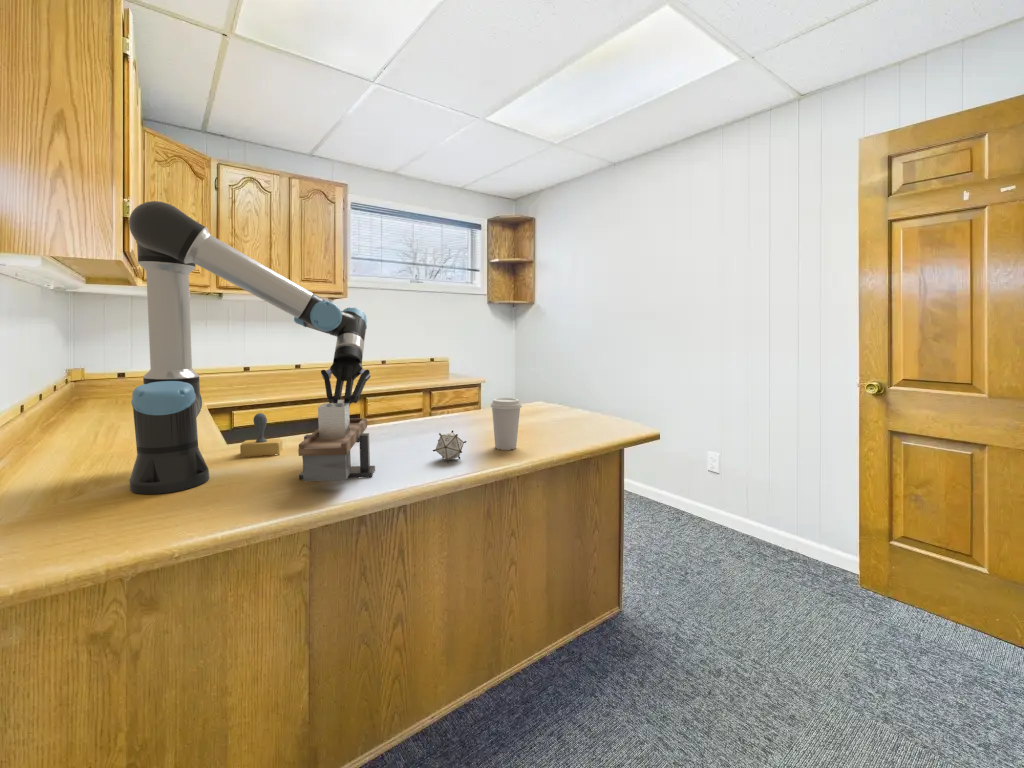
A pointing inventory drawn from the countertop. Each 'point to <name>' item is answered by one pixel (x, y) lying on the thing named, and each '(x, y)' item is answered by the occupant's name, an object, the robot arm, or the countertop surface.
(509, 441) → the coffee cup
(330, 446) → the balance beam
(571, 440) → the countertop surface
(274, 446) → the rubber stamp
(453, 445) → the game die
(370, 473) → the pivot stand
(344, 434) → the light grey block
